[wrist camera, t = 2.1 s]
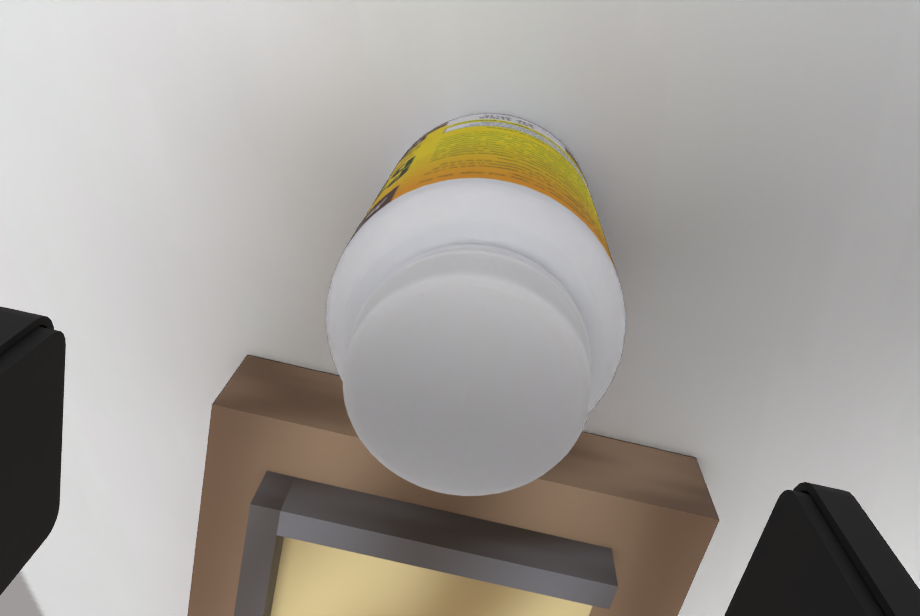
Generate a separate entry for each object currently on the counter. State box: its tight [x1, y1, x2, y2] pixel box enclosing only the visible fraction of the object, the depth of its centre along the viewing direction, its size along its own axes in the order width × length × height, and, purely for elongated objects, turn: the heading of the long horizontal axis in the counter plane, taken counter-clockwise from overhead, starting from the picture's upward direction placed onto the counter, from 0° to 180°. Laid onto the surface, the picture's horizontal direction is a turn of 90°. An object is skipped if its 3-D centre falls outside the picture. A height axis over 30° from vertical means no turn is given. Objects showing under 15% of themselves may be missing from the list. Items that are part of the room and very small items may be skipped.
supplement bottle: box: [326, 114, 625, 496], centre depth 17 cm, size 6×6×10 cm
